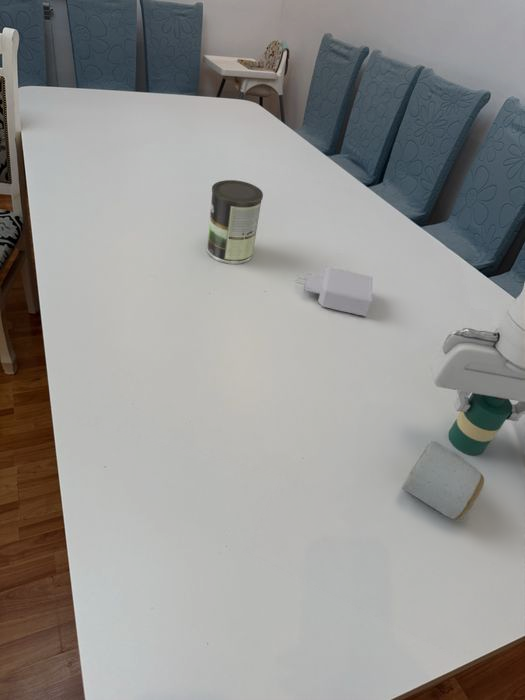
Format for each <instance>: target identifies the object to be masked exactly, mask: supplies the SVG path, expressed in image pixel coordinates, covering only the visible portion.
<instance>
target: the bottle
mask: <svg viewBox="0 0 525 700" xmlns="http://www.w3.org/2000/svg"><path fill="white" fill-rule="evenodd" d="M468 398H469V402H470V404H471V407H470V408H469V409H468V411H467V412H460V411H459V413H458V415H457V418H455V421H454V422H453V424H452V426H451V427H450V429H449V431H448V434H447V435H448V440H449V442H450V443H451V445H452V446H453V447H454V448H455V449H456V450H458V451H459V452H461V453H463V454H465V455H469V456H480V455H481V454H483V453H484V452H485V450H486V449H487V447H488V446H489V445H490V443H491V442H492V440H493V439H494V438H495V437H496V435H497V434H498V432H499V431H500V430H501V428H502V427H503V425H504V423H505V422H506V421H507V417H508V416H509V415H510V413H511V412H512V404H513V403H512V402H511V400H510V399H504V398H498V397H493V396H487V395H481V394H476V393H470V395H469V397H468Z"/></svg>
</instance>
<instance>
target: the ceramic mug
mask: <svg viewBox="0 0 525 700" xmlns="http://www.w3.org/2000/svg"><path fill="white" fill-rule="evenodd" d="M484 484H485V477H484V475H483V474H482V473H481V472H480V471H479V470H478V469H477V468H475V467H474V466H473V465H472V464H470V463H468V462H467V461H465V460H464V459H462V458H461V457H459V456H458V455H456V454H454V453H453V452H451V451H450V450H448V448H446V447H444V446H443V445H441V444H440V443H438V442H437V441H435V440H430V441H429V443H427V445H426V447H425V449H423V452H422V453H421V454H420V456H419V458H418V460H417V461H416V462H415V464H414V465H413V467H412V469H411V470H410V472H409V474H408V475H407V477H406V478H405V481H404V482H403V484H402V486H401V487H402V489H403V490H404V491H405V492H407V493H409V494H410V495H412V496H413V497H415V498H417V499H419V500H420V501H421V502H423V503H425V504H426V505H428V506H430V507H431V508H433V509H435V510H436V511H437V512H439V513H440V514H441V515H444V516H446V517H448V518H450V519H452V520H461V519H462V518H464V517H465V516H466V515H467V514H468V512H469V511H470V510H471V508H472V507H473V505H474V504H475V502H476V500H477V499H478V497H479V495H480V493H481V491H482V490H483V487H484Z"/></svg>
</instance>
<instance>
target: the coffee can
mask: <svg viewBox="0 0 525 700" xmlns="http://www.w3.org/2000/svg"><path fill="white" fill-rule="evenodd" d="M263 197H264V192H263V191H262V190H261V188H259V187H257V186H256V185H254V184H252V183H250V182H246V181H242V180H236V179H225V180H219V181H217V182H215V183H214V184H213V185H212V186H211V203H210V215H209V223H208V224H209V225H208V236H207V246H206V251H207V254H208V255H209V257H211V258H212V259H214V260H215V261H217V262H220V263H222V264H223V263H224V264H228V265H240V264H246V263H248V262H249V261H250V260H252V259H253V257H254V249H255V244H256V236H257V230H258V224H259V218H260V212H261V205H262V200H263Z"/></svg>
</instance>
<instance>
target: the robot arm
mask: <svg viewBox="0 0 525 700" xmlns="http://www.w3.org/2000/svg"><path fill="white" fill-rule="evenodd" d="M523 283H524V284H523V288H522V290H521V293H520V294H519V295H518V296H517V297H516V298H515V299H513V301H512V302H511V303H510V304H509V306H508V308H507V309H506V312H505V314H503V317H502V318H501V320H500V322H499V323H498V325H497V327H496V329H494V331H493V332H492V331H487V330H477V329H474V328H470V327H463V328H462V329H459V330H455V331H451V332H450V333H449V334H448V335H447V336H446V338H445V340H444V342H443V345H442V346H441V348H440V349H439V350H438V351H437V354H436V355H435V357H434V358H433V360H432V362H431V364H430V375H431V378H432V381H433V383H434V385H435V386H436V387H438V388H442V389H449V390H453V391H456V393H457V396H456V398H455V401H454V403H453V405H454V409H455V411H456V412H459V413H460V412H467V411H468V409H469V408H470V407H471V404H470V402H469V398H470V396H471V394H472V393H476V394H481V395H487V396H493V397H498V398H504V399H509V400H510V401H517V402H516V403H514V404H513V403H511V404H512V412H511V413H510V415H509V416H508V417H507V419H506V421H507V420H508V421H511V422H512V421H513V422H518V421H519V420H520V419H521V417H522V416H523V415H525V282H523Z"/></svg>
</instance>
